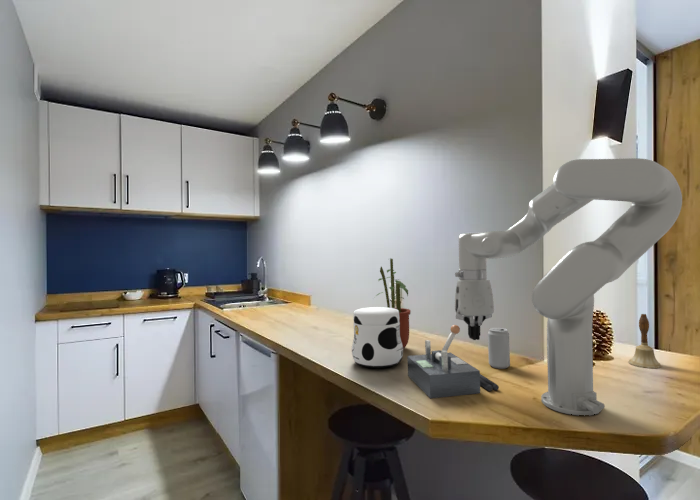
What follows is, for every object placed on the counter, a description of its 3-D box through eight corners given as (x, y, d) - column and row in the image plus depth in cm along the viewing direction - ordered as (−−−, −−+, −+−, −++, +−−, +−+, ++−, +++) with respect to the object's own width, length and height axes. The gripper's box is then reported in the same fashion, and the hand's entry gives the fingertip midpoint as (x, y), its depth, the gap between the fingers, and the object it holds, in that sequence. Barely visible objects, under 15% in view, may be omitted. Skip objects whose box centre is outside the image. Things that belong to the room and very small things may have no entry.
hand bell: (667, 369, 116) (666, 316, 116) (636, 368, 118) (635, 316, 118) (652, 361, 124) (651, 311, 124) (623, 360, 126) (622, 311, 126)
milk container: (344, 360, 135) (343, 309, 135) (389, 354, 141) (387, 305, 141) (364, 375, 119) (362, 317, 118) (413, 367, 125) (411, 312, 125)
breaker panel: (480, 393, 102) (479, 351, 102) (430, 398, 99) (429, 356, 99) (451, 371, 119) (450, 336, 119) (407, 375, 117) (406, 339, 117)
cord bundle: (499, 390, 103) (499, 385, 103) (488, 392, 102) (488, 386, 102) (468, 370, 120) (468, 365, 120) (458, 371, 120) (458, 366, 120)
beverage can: (512, 369, 120) (511, 331, 119) (490, 369, 121) (489, 331, 121) (507, 363, 126) (506, 327, 126) (487, 362, 127) (486, 326, 127)
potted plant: (411, 354, 139) (409, 258, 139) (369, 353, 142) (366, 259, 141) (411, 342, 157) (409, 256, 156) (373, 341, 159) (371, 257, 159)
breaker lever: (446, 364, 107) (464, 328, 108) (438, 360, 107) (456, 324, 108) (440, 360, 111) (457, 326, 112) (432, 356, 111) (450, 322, 112)
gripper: (454, 277, 106) (455, 343, 106) (503, 275, 108) (505, 340, 109) (443, 275, 113) (444, 337, 114) (489, 273, 116) (491, 334, 116)
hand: (474, 338), depth 111 cm, fingers closed
